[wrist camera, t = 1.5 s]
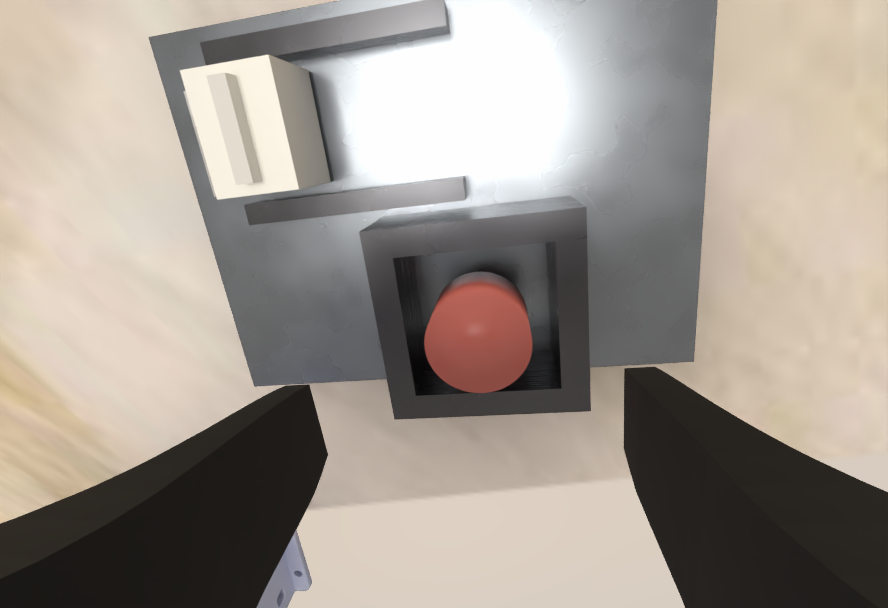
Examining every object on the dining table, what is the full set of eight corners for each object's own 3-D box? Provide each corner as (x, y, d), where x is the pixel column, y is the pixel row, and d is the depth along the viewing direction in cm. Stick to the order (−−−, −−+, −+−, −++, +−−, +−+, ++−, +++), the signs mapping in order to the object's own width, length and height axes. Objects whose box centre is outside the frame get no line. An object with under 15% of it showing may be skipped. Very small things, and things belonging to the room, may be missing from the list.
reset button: (529, 354, 17) (535, 390, 14) (441, 359, 17) (431, 395, 15) (524, 267, 16) (528, 290, 13) (429, 275, 16) (417, 299, 14)
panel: (680, 346, 20) (732, 405, 15) (269, 371, 23) (213, 427, 18) (701, -54, 15) (787, -138, 11) (175, 45, 18) (68, 12, 14)
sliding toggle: (330, 182, 17) (291, 191, 14) (261, 190, 18) (206, 201, 15) (308, 69, 16) (258, 50, 13) (233, 82, 17) (166, 67, 13)
